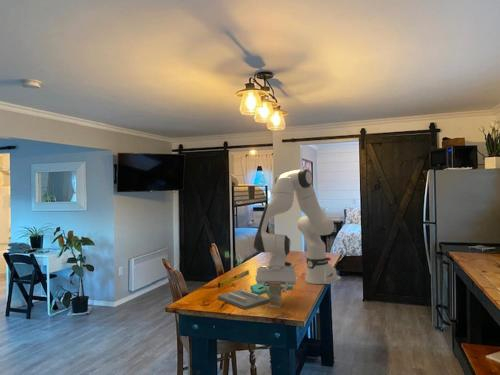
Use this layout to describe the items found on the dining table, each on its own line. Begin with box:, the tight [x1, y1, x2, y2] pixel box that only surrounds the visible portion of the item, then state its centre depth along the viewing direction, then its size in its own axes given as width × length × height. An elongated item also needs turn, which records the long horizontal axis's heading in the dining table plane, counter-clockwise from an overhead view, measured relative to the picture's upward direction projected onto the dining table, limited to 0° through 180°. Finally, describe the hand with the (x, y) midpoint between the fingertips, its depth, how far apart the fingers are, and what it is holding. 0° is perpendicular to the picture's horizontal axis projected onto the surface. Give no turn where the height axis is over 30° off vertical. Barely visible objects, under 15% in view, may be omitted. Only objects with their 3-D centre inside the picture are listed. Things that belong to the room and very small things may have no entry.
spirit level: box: [217, 269, 250, 288], centre depth 225 cm, size 33×1×3 cm, turn 150°
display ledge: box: [217, 288, 269, 310], centre depth 186 cm, size 16×24×3 cm, turn 38°
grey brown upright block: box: [268, 282, 283, 309], centre depth 175 cm, size 5×6×11 cm
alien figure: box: [249, 282, 294, 297], centre depth 201 cm, size 20×2×20 cm
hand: (274, 291), depth 175 cm, fingers open, 8 cm apart
